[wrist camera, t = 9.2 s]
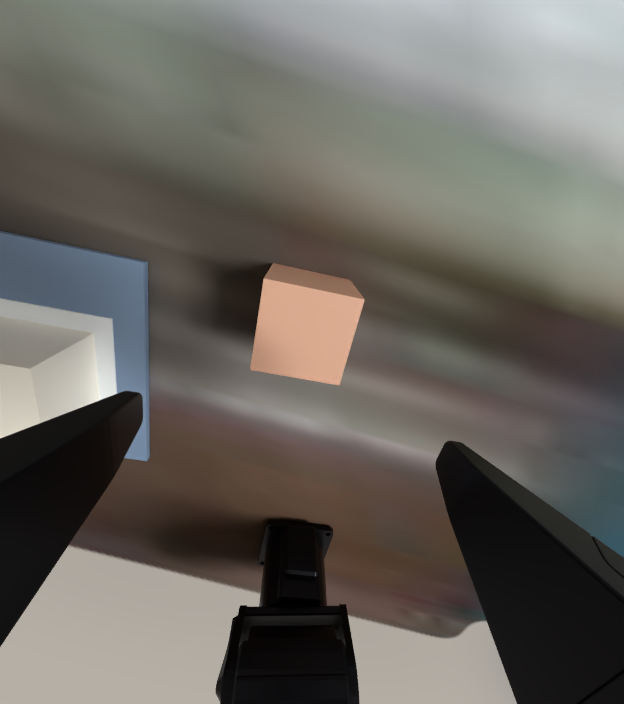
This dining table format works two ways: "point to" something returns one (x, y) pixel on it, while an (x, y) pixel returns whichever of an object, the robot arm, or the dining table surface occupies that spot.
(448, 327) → the dining table surface
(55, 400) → the cream block
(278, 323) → the terracotta block
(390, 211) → the dining table surface
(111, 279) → the board
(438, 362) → the dining table surface
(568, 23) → the dining table surface
